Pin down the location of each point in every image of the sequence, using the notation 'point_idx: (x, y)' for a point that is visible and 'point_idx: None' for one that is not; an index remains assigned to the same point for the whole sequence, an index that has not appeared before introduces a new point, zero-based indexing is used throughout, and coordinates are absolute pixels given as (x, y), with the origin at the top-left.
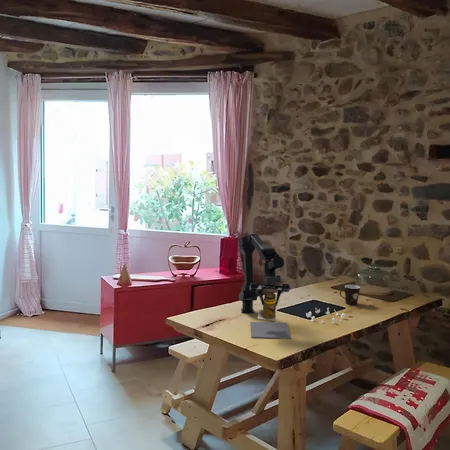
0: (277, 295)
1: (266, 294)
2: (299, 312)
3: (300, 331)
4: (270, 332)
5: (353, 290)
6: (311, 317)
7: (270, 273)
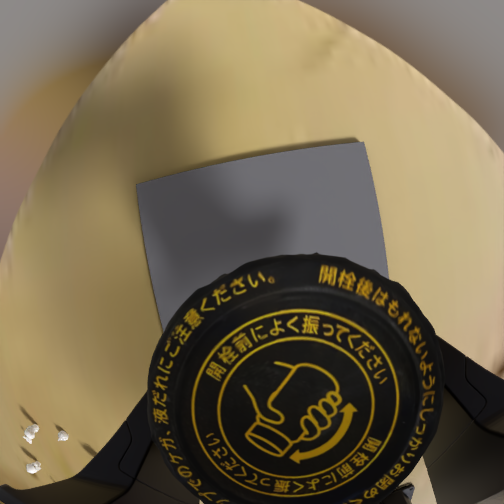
0: (138, 461)
1: (407, 402)
2: None
3: (107, 324)
4: (262, 243)
5: None
6: None
7: None
